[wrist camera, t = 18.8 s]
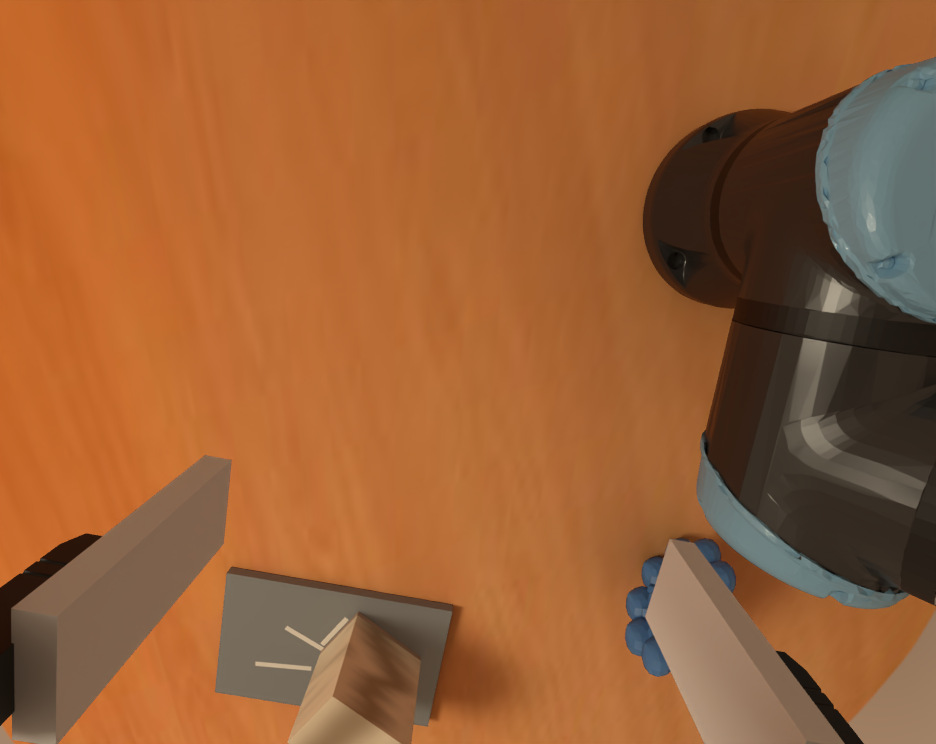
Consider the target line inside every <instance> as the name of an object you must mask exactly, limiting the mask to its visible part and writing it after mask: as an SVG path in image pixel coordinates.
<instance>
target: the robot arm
mask: <svg viewBox="0 0 936 744" xmlns="http://www.w3.org/2000/svg"><path fill="white" fill-rule="evenodd" d="M643 232H644V239H645V243H646V247H647V250H648V253H649V256H650V258H651V260H652V262H653V264H654V266H655V268H656V269H657V271H658V272H659V274H660V275H661V276H662V278H663V279H664V280H665V281H666V282H667V283H668V284H669V285H670V286H671V287H672V288H674V289H675V290H676V291H678V292H679V293H681V294H682V295H684V296H686V297H688V298H690V299H692V300H694V301H697V302H700V303H704V304H708V305H712V306H716V307H722V308H735V311H734V315H733V318H732V322H731V326H730V330H729V335H728V339H727V343H726V347H725V351H724V356H723V360H722V364H721V368H720V372H719V377H718V381H717V385H716V389H715V393H714V398H713V402H712V406H711V410H710V414H709V419H708V423H707V427H706V430H705V431H704V432H703V434H702V437H701V441H700V450H701V454H702V456H701V462H700V467H699V473H698V479H697V498H698V501H699V503H700V505H701V507H702V509H703V512H704V514H705V517H706V519H707V520H708V522H709V523H710V525H711V526H712V527H713V529H714V530H715V531H716V532H717V533H718V534H719V535H720V537H721V538H722V539H723V540H724V541H725V542H726V543H727V544H729V545H730V546H731V547H732V548H733V549H734V550H735V551H737V552H738V553H739V554H740V555H742V556H743V557H744V558H746V559H747V560H748V561H750V562H751V563H753V564H754V565H756V566H757V567H759V568H760V569H762V570H763V571H765V572H767V573H768V574H770V575H772V576H773V577H775V578H777V579H779V580H781V581H782V582H784V583H786V584H788V585H790V586H792V587H795V588H797V589H799V590H801V591H804V592H806V593H809V594H811V595H814V596H816V597H819V598H825V597H827V596H828V595H830V596H832V597H833V598H835V599H836V600H837V601H839V602H840V603H841V604H843V605H846V606H850V607H855V608H863V609H878V608H885V607H890V606H892V605H894V604H896V603H897V602H899V601H900V600H902V599H904V598H906V597H907V596H908V595H909V594H911V595H913V596H915V597H917V598H919V599H922V600H924V601H926V602H928V603H930V604H933V605H935V606H936V57H934V58H931V59H928V60H925V61H921V62H918V63H914V64H907V65H900V66H896V67H894V68H893V69H891V70H884V71H882V72H880V73H877V74H875V75H873V76H872V77H870V78H868V79H867V80H865V81H863V82H862V83H861V84H859V85H857V86H854V87H852V88H850V89H847V90H845V91H843V92H840V93H838V94H836V95H833V96H831V97H828V98H826V99H824V100H821V101H819V102H817V103H814V104H812V105H810V106H807V107H805V108H803V109H800V110H798V111H795V112H793V113H789V112H784V111H778V110H772V109H750V110H743V111H738V112H734V113H730V114H727V115H724V116H722V117H719V118H717V119H715V120H713V121H711V122H709V123H707V124H705V125H703V126H701V127H699V128H698V129H696V130H694V131H693V132H691V133H690V134H688V135H687V136H686V137H684V138H683V139H682V140H681V141H680V142H679V143H678V144H676V145H675V147H674V148H673V149H672V150H671V151H670V152H669V153H668V154H667V156H666V157H665V158H664V160H663V161H662V162H661V164H660V166H659V167H658V169H657V171H656V173H655V174H654V176H653V179H652V181H651V183H650V186H649V189H648V192H647V195H646V200H645V204H644V212H643ZM231 461H232V460H229V459H223V458H218V457H212V456H207V455H205V456H204V457H202V458H201V459H200V460H198V461H197V462H196V463H195V464H193V465H192V466H191V467H190V468H188V469H187V470H186V471H185V472H183V473H182V474H181V475H179V476H178V477H177V478H176V479H174V480H173V481H172V482H171V483H169V484H168V485H167V486H166V487H164V488H163V489H162V490H160V491H159V492H158V493H157V494H155V495H154V496H153V497H152V498H150V499H149V500H148V501H147V502H145V503H144V504H143V505H142V506H140V507H139V508H138V509H136V510H135V511H134V512H133V513H131V514H130V515H129V516H128V517H126V518H125V519H124V520H123V521H121V522H120V523H119V524H117V525H116V526H115V527H114V528H112V529H111V530H110V531H109V532H107V533H106V534H105V535H104V536H98V535H92V534H84V535H81V536H79V537H76V538H74V539H71V540H69V541H67V542H64V543H62V544H60V545H58V546H57V547H56V548H54V549H53V550H51V551H50V552H49V553H47V554H46V555H45V556H43V557H42V558H40V561H39V562H37V561H36V562H35V563H34V564H32V565H31V566H30V567H28V568H27V569H25V570H24V572H23V574H19V575H17V576H16V577H14V578H13V579H12V580H10V581H9V582H8V583H6V584H5V585H3V586H2V587H1V588H0V726H1V725H2V723H3V722H4V721H5V720H6V719H7V718H8V717H9V716H10V715H11V714H12V740H17V741H24V742H30V743H37V744H58V743H59V742H60V741H61V739H62V738H63V737H64V736H65V735H66V733H67V732H68V731H69V730H70V729H71V727H72V726H73V725H74V724H75V723H76V721H77V720H78V719H79V718H80V716H81V715H82V714H83V713H84V712H85V710H86V709H87V708H88V707H89V706H90V704H91V703H92V702H93V701H94V700H95V698H96V697H97V696H98V695H99V694H100V692H101V691H102V690H103V689H104V688H105V686H106V685H107V684H108V683H109V681H110V680H111V679H112V678H113V677H114V675H115V674H116V673H117V672H118V671H119V669H120V668H121V667H122V666H123V665H124V663H125V662H126V661H127V660H128V659H129V657H130V656H131V655H132V654H133V653H134V651H135V650H136V649H137V648H138V646H139V645H140V644H141V643H142V642H143V640H144V639H145V638H146V637H147V636H148V634H149V633H150V632H151V631H152V630H153V628H154V627H155V626H156V625H157V624H158V622H159V621H160V620H161V619H162V618H163V616H164V615H165V614H166V613H167V611H168V610H169V609H170V608H171V607H172V605H173V604H174V603H175V602H176V601H177V599H178V598H179V597H180V596H181V595H182V593H183V592H184V591H185V590H186V589H187V587H188V586H189V585H190V584H191V583H192V581H193V580H194V579H195V578H196V576H197V575H198V574H199V573H200V572H201V570H202V569H203V568H204V567H205V566H206V564H207V563H208V562H209V561H210V560H211V558H212V557H213V556H214V555H215V554H216V552H217V551H218V550H219V549H220V547H221V546H222V545H223V544H224V534H225V524H226V513H227V503H228V492H229V482H230V471H231ZM645 618H646V620H647V622H648V624H649V626H650V628H651V630H652V633H653V635H654V637H655V639H656V641H657V643H658V645H659V647H660V650H661V652H662V654H663V656H664V658H665V660H666V662H667V665H668V667H669V669H670V671H671V673H672V675H673V677H674V680H675V682H676V684H677V686H678V688H679V690H680V692H681V694H682V697H683V699H684V701H685V703H686V705H687V707H688V709H689V712H690V714H691V716H692V718H693V720H694V722H695V724H696V727H697V729H698V731H699V733H700V735H701V737H702V739H703V741H704V744H864V743H863V742H862V741H861V740H860V738H859V737H858V736H857V734H856V733H855V732H854V731H853V729H852V728H851V727H850V725H849V724H848V723H847V722H846V720H845V719H844V718H843V717H842V715H841V714H840V713H839V712H838V710H836V709H834V705H833V704H832V703H831V701H830V700H829V699H828V698H827V696H826V695H825V694H824V693H821V689H820V687H819V686H818V685H817V684H816V682H815V681H814V680H813V679H812V677H811V676H810V675H809V673H808V672H807V671H806V670H805V669H804V668H803V667H802V666H800V665H799V664H798V663H797V662H796V661H794V660H793V659H792V658H791V657H790V656H789V655H787V654H786V653H785V652H780V651H775V650H774V649H773V647H772V646H771V645H770V643H769V642H768V641H767V639H766V638H765V637H764V635H763V634H762V633H761V631H760V630H759V629H758V627H757V626H756V625H755V623H754V622H753V621H752V619H751V618H750V617H749V615H748V614H747V613H746V611H745V610H744V609H743V607H742V606H741V605H740V603H739V602H738V601H737V599H736V598H735V597H734V595H733V594H732V593H731V591H730V590H729V589H728V587H727V586H726V585H725V583H724V582H723V581H722V579H721V578H720V577H719V575H718V574H717V573H716V571H715V570H714V569H713V567H712V566H711V565H710V563H709V562H708V561H707V559H706V558H705V557H704V555H703V554H702V553H701V551H700V550H699V549H698V547H697V546H696V545H695V543H691V542H685V541H680V540H674V539H669V543H668V546H667V549H666V552H665V555H664V558H663V562H662V565H661V568H660V571H659V574H658V577H657V581H656V584H655V587H654V590H653V593H652V597H651V600H650V603H649V606H648V609H647V612H646V616H645Z"/></svg>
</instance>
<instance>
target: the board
mask: <svg viewBox="0 0 936 744" xmlns="http://www.w3.org/2000/svg"><path fill="white" fill-rule="evenodd" d="M452 611H453V605H451V604H445V603H439V602H433V601H428V600H422V599H416V598H410V597H404V596H398V595H393V594H387V593H381V592H375V591H369V590H363V589H358V588H352V587H346V586H340V585H334V584H328V583H322V582H317V581H311V580H305V579H299V578H293V577H287V576H282V575H276V574H270V573H264V572H258V571H252V570H247V569H241V568H235V567H231V568H230V569H229V571H228V572H227V576H226V586H225V596H224V607H223V617H222V627H221V637H220V647H219V657H218V667H217V678H216V688H215V692H217V693H223V694H229V695H236V696H242V697H248V698H254V699H260V700H267V701H273V702H279V703H285V704H291V705H298V706H301V704H302V701H303V699H304V696H305V693H306V690H307V688H308V685H309V682H310V680H311V677H312V674H313V671H314V669H315V666H316V663H317V661H318V658H319V655H320V652H321V650H322V649H323V648H324V647H325V646H326V645H327V644H328V643H329V642H330V641H331V640H332V639H333V638H334V637H335V636H336V635H337V634H338V632H339V631H340V630H341V629H342V628H343V627H344V626H345V625H346V624H347V623H348V622H349V621H350V620H351V619H352V618H353V617H354V616H355V615H356V613H357V612H360V613H361V614H363V615H364V616H365V617H367V618H368V619H369V620H371V621H372V622H374V623H375V624H376V625H378V626H379V627H380V628H382V629H383V630H385V631H386V632H387V633H389V634H390V635H392V636H393V637H394V638H396V639H397V640H398V641H400V642H401V643H403V644H404V645H405V646H407V647H408V648H409V649H411V650H412V651H414V652H415V653H416V654H418V655H419V656H420V657H421V665H420V673H419V681H418V690H417V698H416V707H415V715H414V724H415V725H421V726H428V723H429V718H430V713H431V709H432V704H433V699H434V695H435V690H436V686H437V681H438V676H439V672H440V667H441V662H442V658H443V653H444V648H445V644H446V639H447V635H448V630H449V625H450V621H451V616H452Z"/></svg>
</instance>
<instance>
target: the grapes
mask: <svg viewBox="0 0 936 744" xmlns="http://www.w3.org/2000/svg"><path fill="white" fill-rule="evenodd" d="M674 540H680V541H685V542H690V541H689V540H688V539H684V538H678V539H674ZM694 543H695V545H696V546H697V547H698V549H699V550H700V551H701V553H702V554H703V555H704V557H705V558H706V559H707V561H708V562H709V563H710V565H711V566H712V567H713V569H714V570H715V571H716V573H717V574H718V575H719V577H720V578H721V579H722V581H723V582H724V583H725V585H726V586H727V587H728V589H729V590H730V591H731V593H733V590H734V588H735V586H736V576H735V573H734V570H733V568H732V567H731V566H730V565H729V564H728V563H727V562H724V561H721V552H720V549H719V546H718V545H717V544H716V543H715V542H714V541H713V540H710V539H706V538H704V539H699V540H697V541H695V542H694ZM667 546H668V545H667ZM666 549H667V547H666ZM665 552H666V551H665ZM662 562H663V558H662V557H658V556H656V557H652V558H649V559H648V560H646V561H645V562H644V564H643V567H642V580H643V583H644V585H645V586H646V587H643V586H641V587H637V588H634V589H633V590H631V591H630V592H629V593H628V595H627V599H626V609H627V613H628V615H629V616H630V618H631V619H632V621H631V622H629V624H628V625H627V628H626V633H625V640H626V644H627V647H628V649H629V650H630V651H631V653H632V654H635V655H638V656H642V660H643V664H644V667H645V668H646V670H647V671H648V672H649V674H652V675H654V676H657V677H659V676H664V675H667V674H668V673H669V672H671V671H670V669H669V667H668V665H667V662H666V660H665V658H664V656H663V654H662V652H661V650H660V647H659V645H658V643H657V641H656V639H655V637H654V635H653V633H652V630H651V628H650V626H649V624H648V622H647V620H646V618H645V616H646V612H647V609H648V606H649V603H650V600H651V597H652V593H653V590H654V587H655V584H656V581H657V577H658V574H659V571H660V568H661V565H662Z"/></svg>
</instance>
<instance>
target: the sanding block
mask: <svg viewBox="0 0 936 744" xmlns="http://www.w3.org/2000/svg"><path fill="white" fill-rule="evenodd" d="M420 665H421V657H420V656H419V655H418V654H416V653H415V652H414V651H412V650H411V649H409V648H408V647H407V646H405V645H404V644H403V643H401V642H400V641H398V640H397V639H396V638H394V637H393V636H392V635H390V634H389V633H387V632H386V631H385V630H383V629H382V628H380V627H379V626H378V625H376V624H375V623H374V622H372V621H371V620H369V619H368V618H367V617H365V616H364V615H363V614H361V613H360V612H357V613H356V615H355V616H354V617H353V618H352V619H351V620H350V621H349V622H348V623H347V624H346V625H345V626H344V627H343V628H342V629H341V630H340V631H339V632H338V634H337V635H336V636H335V637H334V638H333V639H332V640H331V641H330V642H329V643H328V644H327V645H326V646H325V647H324V648H323V649H322V650H321V652H320V655H319V658H318V661H317V663H316V666H315V669H314V671H313V674H312V677H311V680H310V682H309V685H308V688H307V690H306V693H305V696H304V699H303V701H302V704H301V707H300V710H299V712H298V715H297V718H296V720H295V723H294V726H293V729H292V731H291V734H290V737H289V739H288V742H287V743H289V744H411V741H412V732H413V724H414V715H415V707H416V698H417V690H418V681H419V673H420Z"/></svg>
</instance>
